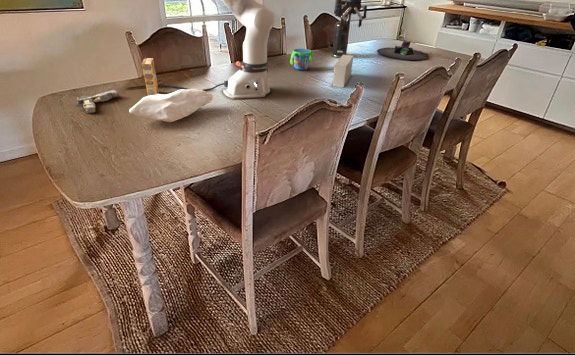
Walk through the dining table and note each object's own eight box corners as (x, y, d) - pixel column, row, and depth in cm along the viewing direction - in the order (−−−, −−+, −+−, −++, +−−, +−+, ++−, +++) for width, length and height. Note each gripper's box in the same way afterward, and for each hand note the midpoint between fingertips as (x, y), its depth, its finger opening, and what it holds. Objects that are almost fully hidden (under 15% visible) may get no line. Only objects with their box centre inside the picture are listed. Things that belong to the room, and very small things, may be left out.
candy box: (157, 97, 164) (152, 63, 155) (147, 98, 163) (141, 63, 155) (158, 91, 171) (153, 57, 163) (149, 91, 170) (143, 58, 162)
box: (343, 87, 186) (346, 66, 180) (332, 85, 187) (334, 64, 181) (350, 75, 204) (353, 55, 198) (340, 74, 205) (343, 54, 199)
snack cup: (306, 64, 218) (307, 47, 212) (317, 69, 211) (318, 51, 205) (284, 68, 210) (285, 49, 205) (295, 72, 203) (295, 54, 198)
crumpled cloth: (117, 110, 146) (113, 90, 140) (195, 92, 166) (194, 73, 160) (143, 139, 134) (140, 118, 128) (223, 116, 154) (224, 96, 148)
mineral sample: (439, 56, 245) (442, 42, 241) (405, 62, 228) (407, 47, 223) (399, 48, 270) (401, 35, 266) (365, 53, 253) (367, 39, 248)
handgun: (128, 97, 156) (111, 87, 164) (86, 107, 144) (70, 97, 152) (129, 103, 157) (113, 94, 165) (88, 114, 146) (72, 103, 154)
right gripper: (369, -9, 181) (364, 26, 190) (340, -10, 182) (336, 24, 191) (369, -7, 175) (364, 29, 183) (340, -9, 176) (336, 27, 185)
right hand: (350, 26), depth 187 cm, fingers open, 8 cm apart
